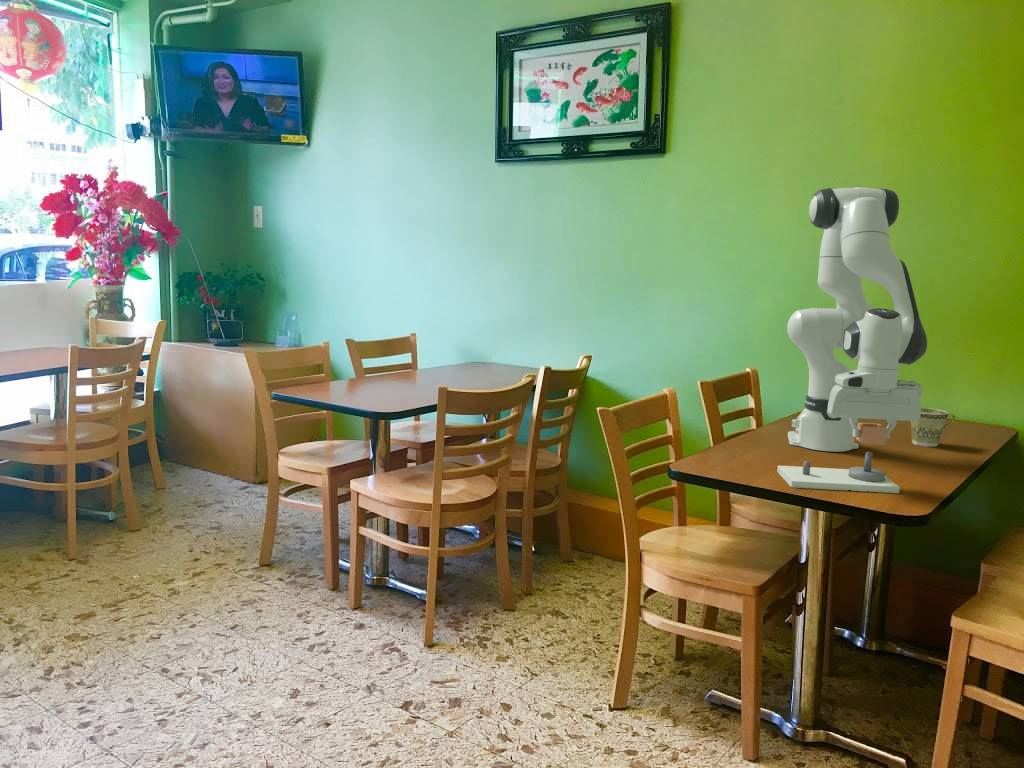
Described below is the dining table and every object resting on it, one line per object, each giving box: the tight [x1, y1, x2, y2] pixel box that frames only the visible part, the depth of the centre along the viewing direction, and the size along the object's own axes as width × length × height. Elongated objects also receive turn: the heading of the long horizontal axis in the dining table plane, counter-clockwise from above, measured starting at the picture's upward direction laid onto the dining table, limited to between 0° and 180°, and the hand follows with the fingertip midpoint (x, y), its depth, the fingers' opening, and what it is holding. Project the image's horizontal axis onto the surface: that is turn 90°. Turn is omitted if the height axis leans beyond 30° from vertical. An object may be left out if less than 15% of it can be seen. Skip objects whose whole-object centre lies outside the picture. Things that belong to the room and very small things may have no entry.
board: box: [776, 451, 901, 494], centre depth 193 cm, size 14×24×8 cm, turn 85°
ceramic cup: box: [909, 407, 956, 448], centre depth 236 cm, size 13×10×10 cm
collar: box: [855, 422, 887, 446], centre depth 191 cm, size 5×5×4 cm
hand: (870, 437), depth 191 cm, fingers closed on collar, 5 cm apart
